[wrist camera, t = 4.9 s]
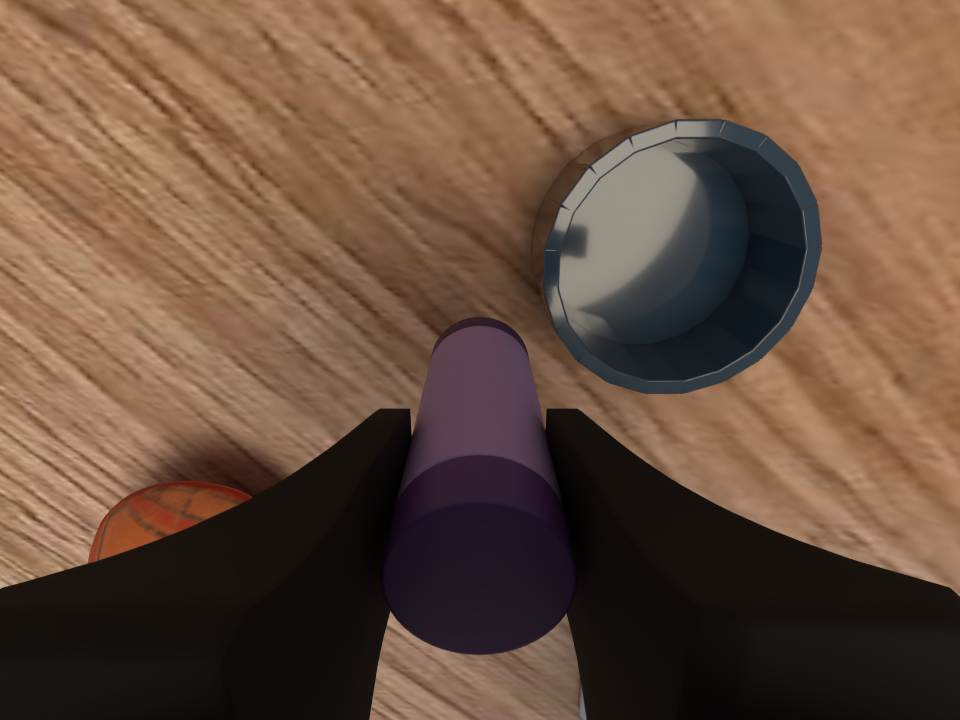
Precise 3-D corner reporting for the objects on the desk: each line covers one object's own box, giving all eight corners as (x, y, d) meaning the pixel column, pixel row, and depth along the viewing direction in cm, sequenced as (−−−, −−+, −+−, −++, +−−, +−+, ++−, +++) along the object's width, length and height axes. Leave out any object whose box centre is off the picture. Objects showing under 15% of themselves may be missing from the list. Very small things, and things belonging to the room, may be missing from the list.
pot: (110, 557, 24) (-9, 660, 18) (195, 413, 24) (106, 465, 17) (268, 633, 26) (213, 756, 19) (352, 499, 25) (326, 577, 18)
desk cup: (736, 350, 21) (790, 393, 17) (528, 352, 21) (538, 395, 17) (775, 124, 18) (851, 117, 14) (534, 127, 18) (548, 120, 14)
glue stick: (526, 406, 16) (572, 656, 8) (433, 406, 16) (385, 656, 8) (530, 316, 15) (585, 500, 7) (429, 316, 15) (371, 500, 7)
